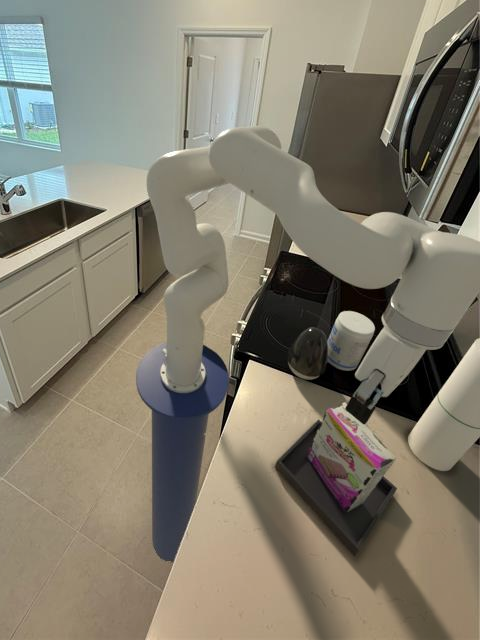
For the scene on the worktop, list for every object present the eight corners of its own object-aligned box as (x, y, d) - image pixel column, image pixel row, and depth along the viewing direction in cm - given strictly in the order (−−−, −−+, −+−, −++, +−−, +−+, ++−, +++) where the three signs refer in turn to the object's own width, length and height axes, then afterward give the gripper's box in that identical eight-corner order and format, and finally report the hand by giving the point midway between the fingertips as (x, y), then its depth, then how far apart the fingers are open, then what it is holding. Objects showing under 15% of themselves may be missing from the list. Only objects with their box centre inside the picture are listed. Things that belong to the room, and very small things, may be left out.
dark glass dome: (277, 371, 85) (289, 330, 78) (293, 350, 92) (305, 311, 85) (313, 393, 80) (329, 351, 72) (327, 369, 87) (343, 329, 80)
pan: (274, 467, 64) (276, 460, 62) (315, 425, 72) (318, 419, 71) (354, 556, 52) (359, 550, 51) (392, 494, 61) (397, 488, 59)
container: (447, 441, 71) (524, 347, 56) (458, 478, 64) (549, 383, 49) (405, 425, 74) (468, 332, 59) (411, 459, 67) (484, 363, 52)
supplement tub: (316, 350, 93) (329, 312, 86) (340, 344, 96) (356, 307, 89) (339, 376, 85) (356, 337, 78) (365, 368, 88) (384, 330, 81)
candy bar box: (304, 456, 65) (325, 408, 57) (321, 447, 67) (344, 400, 59) (345, 516, 57) (377, 469, 49) (364, 504, 58) (398, 457, 50)
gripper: (410, 287, 49) (371, 361, 58) (358, 329, 39) (320, 410, 48) (467, 313, 44) (414, 390, 53) (423, 369, 34) (367, 451, 43)
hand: (369, 399), depth 50 cm, fingers open, 9 cm apart
